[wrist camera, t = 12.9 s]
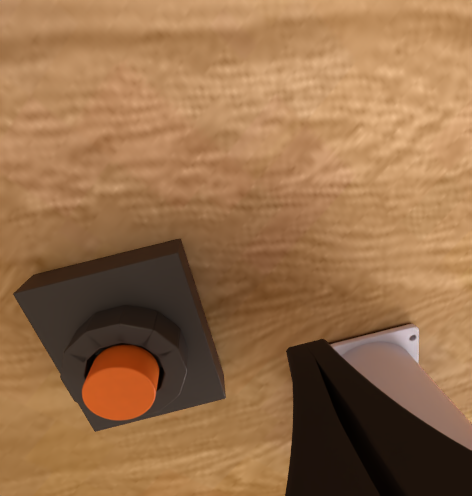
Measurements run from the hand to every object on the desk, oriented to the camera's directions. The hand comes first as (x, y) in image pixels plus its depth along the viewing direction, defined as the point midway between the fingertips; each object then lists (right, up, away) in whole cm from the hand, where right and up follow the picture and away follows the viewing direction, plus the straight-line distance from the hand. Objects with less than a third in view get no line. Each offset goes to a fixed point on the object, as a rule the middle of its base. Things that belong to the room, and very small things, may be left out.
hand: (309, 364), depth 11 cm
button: (-9, -3, +6) cm, 11 cm away
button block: (-9, -1, +10) cm, 13 cm away
